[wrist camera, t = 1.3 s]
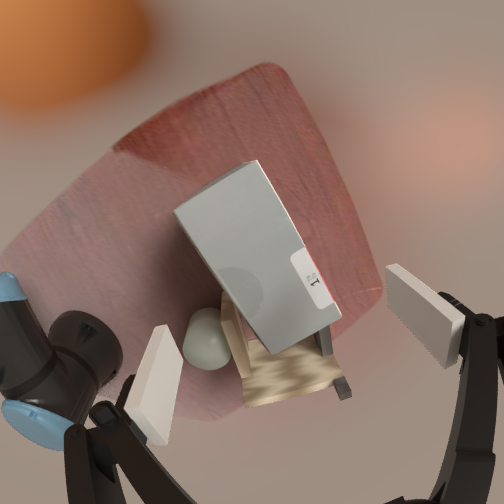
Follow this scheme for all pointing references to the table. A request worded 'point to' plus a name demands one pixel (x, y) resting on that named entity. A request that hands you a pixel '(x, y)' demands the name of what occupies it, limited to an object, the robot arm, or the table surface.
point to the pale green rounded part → (206, 340)
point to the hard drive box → (258, 257)
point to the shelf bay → (281, 363)
